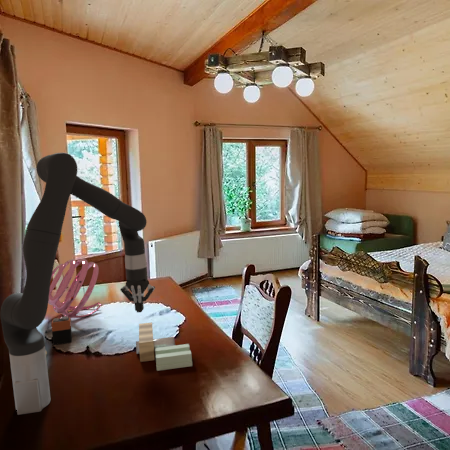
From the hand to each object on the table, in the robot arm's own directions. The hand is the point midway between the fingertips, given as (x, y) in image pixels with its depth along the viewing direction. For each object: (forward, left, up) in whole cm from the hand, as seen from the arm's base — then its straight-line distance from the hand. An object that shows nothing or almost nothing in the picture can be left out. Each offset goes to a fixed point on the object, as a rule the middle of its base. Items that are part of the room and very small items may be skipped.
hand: (139, 311), depth 144 cm
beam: (+1, -2, -16) cm, 16 cm away
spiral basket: (+49, +31, -16) cm, 60 cm away
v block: (-11, -11, -16) cm, 22 cm away
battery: (+18, +31, -16) cm, 39 cm away
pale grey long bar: (0, -5, -14) cm, 14 cm away
